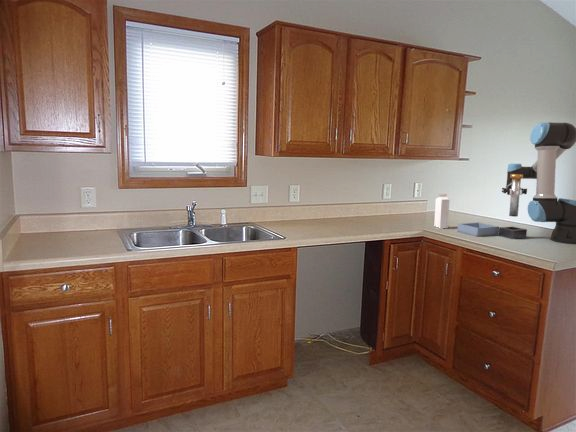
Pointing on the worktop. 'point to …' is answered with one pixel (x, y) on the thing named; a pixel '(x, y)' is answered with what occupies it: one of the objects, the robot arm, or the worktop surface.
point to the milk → (441, 211)
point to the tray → (478, 229)
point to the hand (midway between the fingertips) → (515, 192)
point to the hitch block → (512, 232)
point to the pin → (515, 194)
